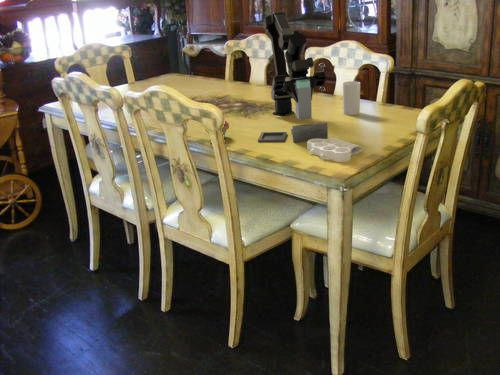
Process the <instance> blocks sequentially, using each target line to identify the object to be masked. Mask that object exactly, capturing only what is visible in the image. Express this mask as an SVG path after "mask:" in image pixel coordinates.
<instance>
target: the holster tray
mask: <svg viewBox="0 0 500 375" xmlns="http://www.w3.org/2000/svg"><path fill="white" fill-rule="evenodd" d="M287 135H288V132H287V131H271V132H270V131H267V132H266V131H261V134H260V135H259V137H258V139H257V142H258V143H284V142H285V141H286V138H287Z"/></svg>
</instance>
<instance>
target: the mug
mask: <svg viewBox="0 0 500 375" xmlns="http://www.w3.org/2000/svg"><path fill="white" fill-rule="evenodd" d="M342 106H343V107H342V110H343V111H342V112H343V115H345V116H357V115H359V114H360V106H361V82H360V81H357V80H355V81H354V80H352V81H351V80H349V81H344V82H342Z"/></svg>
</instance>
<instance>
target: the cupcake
mask: <svg viewBox="0 0 500 375" xmlns="http://www.w3.org/2000/svg"><path fill="white" fill-rule="evenodd" d="M215 106H216V104H215V105H214V107H215ZM216 107H217V106H216ZM228 129H230V124H229V122H227V120H225V124H224V127H223V128H222V132H223V135H224V138H225V136H226V133H227V130H228ZM205 131H206V132H207V133H208V134H209V132H208V131H207V130H206V129H205Z"/></svg>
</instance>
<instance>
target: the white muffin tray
mask: <svg viewBox="0 0 500 375" xmlns="http://www.w3.org/2000/svg"><path fill="white" fill-rule="evenodd" d="M306 150H307V151H308V153H309V154H312V155H315V156H318V157H319V158H320V159H321V160H327V161H328V160H329V161H333V162H336V163H344V162H345V163H346V162H349V161H350V160H351V156H353V155H358V154H359V153H361V151H362V150H363V148H362V146H361V145H358V144H354V143H352V142H349V141H347V140H343V139H340V138H338V137H330V138H329V137H328V139H310V140H308V141H306Z"/></svg>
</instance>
